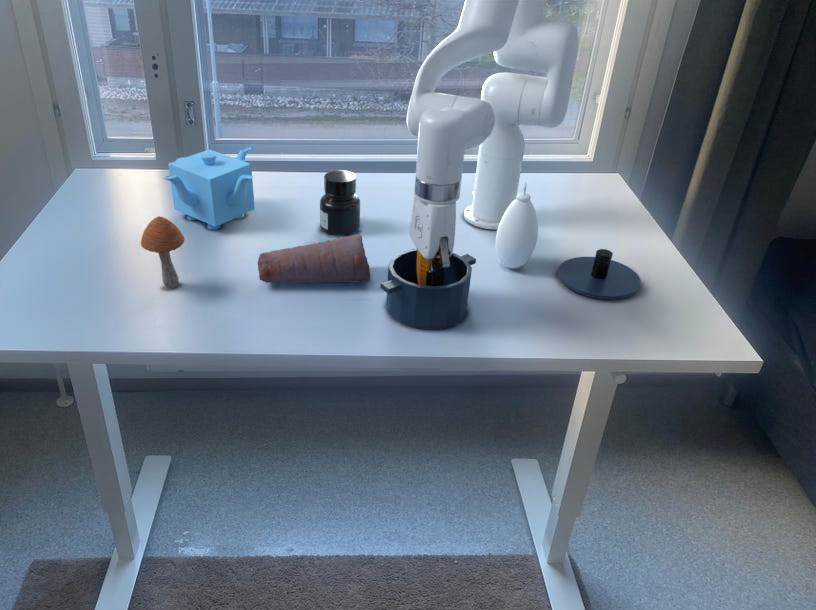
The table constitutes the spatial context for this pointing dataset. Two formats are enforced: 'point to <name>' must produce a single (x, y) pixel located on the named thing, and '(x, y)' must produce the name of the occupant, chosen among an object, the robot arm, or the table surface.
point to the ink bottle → (340, 204)
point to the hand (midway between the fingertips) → (428, 281)
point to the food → (317, 262)
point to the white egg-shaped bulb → (517, 232)
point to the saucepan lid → (599, 276)
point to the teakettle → (212, 186)
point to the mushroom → (163, 246)
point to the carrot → (423, 267)
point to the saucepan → (427, 292)
